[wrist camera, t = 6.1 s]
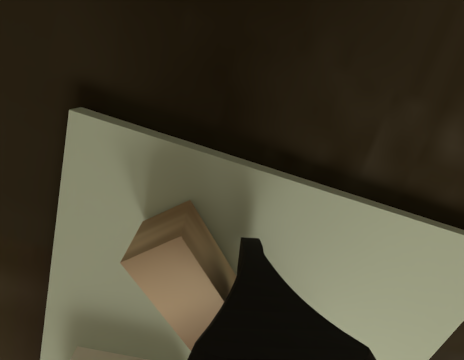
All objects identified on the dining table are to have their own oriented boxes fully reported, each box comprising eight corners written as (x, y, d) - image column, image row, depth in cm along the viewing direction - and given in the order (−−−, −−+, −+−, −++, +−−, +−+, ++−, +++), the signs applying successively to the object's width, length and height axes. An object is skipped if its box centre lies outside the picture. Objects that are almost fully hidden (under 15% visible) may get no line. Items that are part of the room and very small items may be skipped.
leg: (305, 376, 17) (322, 439, 14) (256, 393, 18) (262, 457, 15) (199, 195, 12) (192, 233, 9) (133, 225, 13) (106, 271, 10)
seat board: (349, 426, 22) (355, 441, 21) (45, 374, 18) (36, 391, 17) (504, 243, 15) (522, 254, 14) (81, 107, 12) (69, 109, 11)
